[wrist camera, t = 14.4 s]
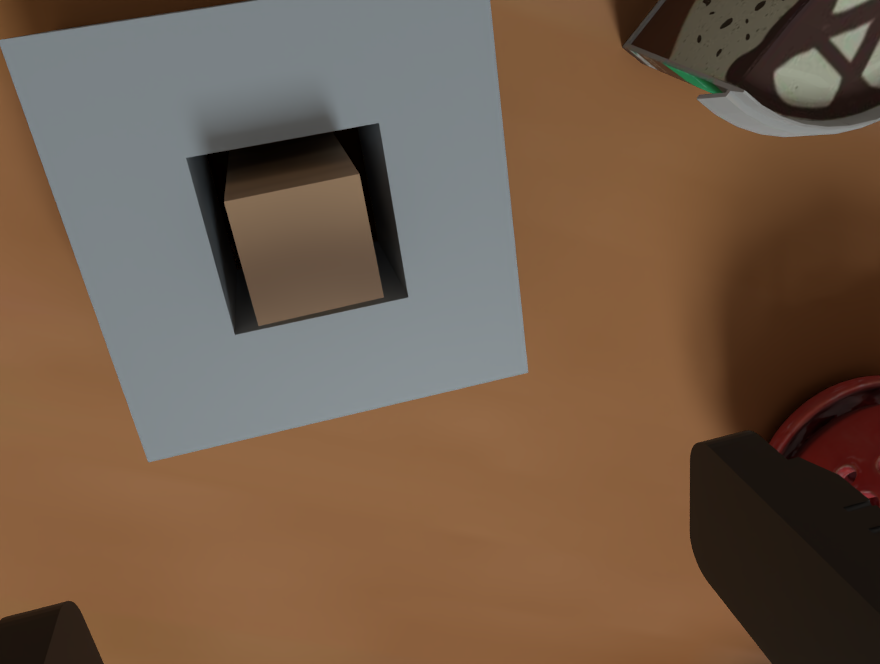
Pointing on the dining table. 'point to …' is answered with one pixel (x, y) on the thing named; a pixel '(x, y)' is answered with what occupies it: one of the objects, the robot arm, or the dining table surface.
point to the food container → (771, 60)
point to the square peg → (300, 227)
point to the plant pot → (839, 433)
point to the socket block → (203, 228)
